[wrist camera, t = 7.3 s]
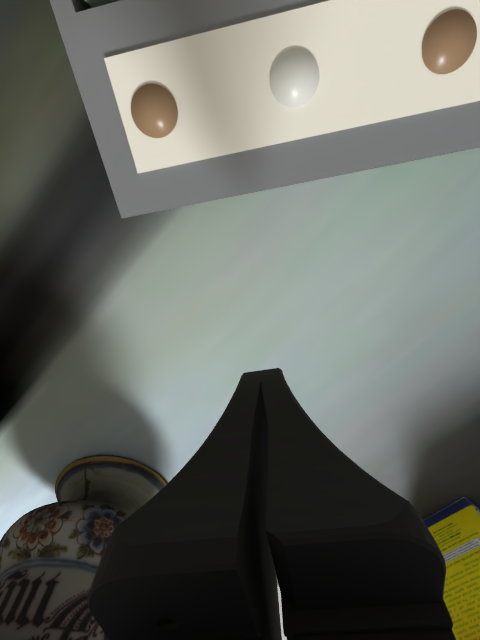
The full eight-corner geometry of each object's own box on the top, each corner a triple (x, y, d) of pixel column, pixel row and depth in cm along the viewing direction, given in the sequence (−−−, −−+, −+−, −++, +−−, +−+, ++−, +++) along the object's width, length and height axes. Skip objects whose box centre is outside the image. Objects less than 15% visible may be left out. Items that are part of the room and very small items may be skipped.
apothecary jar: (31, 513, 30) (-222, 922, 14) (64, 422, 26) (-263, 885, 9) (157, 554, 32) (62, 953, 16) (210, 477, 28) (149, 936, 11)
